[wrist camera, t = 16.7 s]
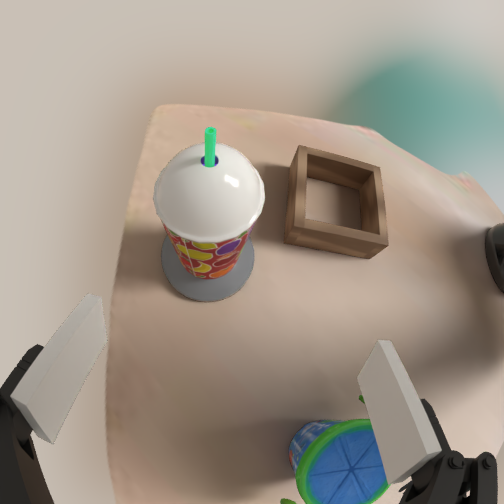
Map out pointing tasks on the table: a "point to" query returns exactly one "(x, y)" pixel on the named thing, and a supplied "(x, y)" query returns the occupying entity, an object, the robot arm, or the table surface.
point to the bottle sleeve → (331, 235)
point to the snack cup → (337, 463)
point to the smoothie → (209, 205)
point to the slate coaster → (207, 287)
